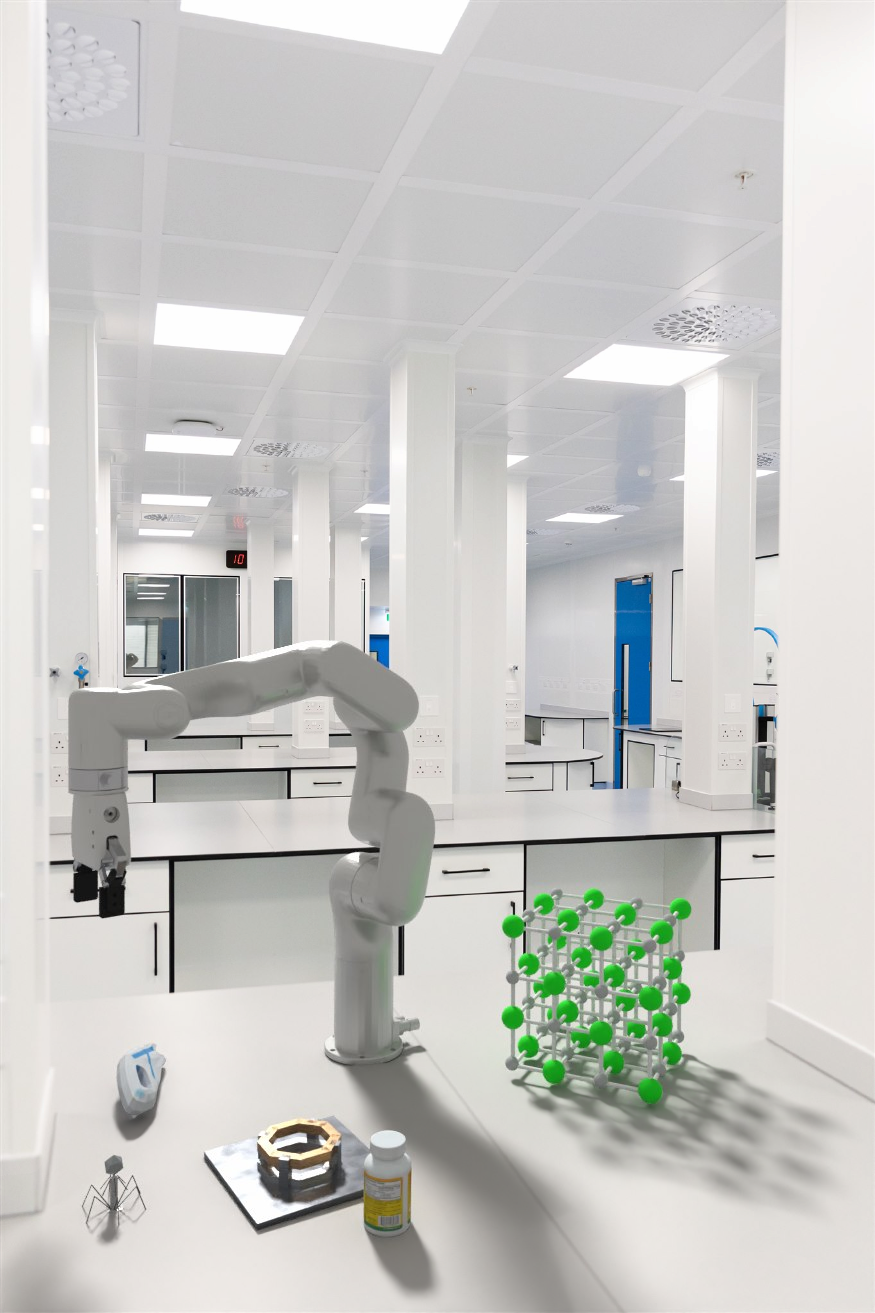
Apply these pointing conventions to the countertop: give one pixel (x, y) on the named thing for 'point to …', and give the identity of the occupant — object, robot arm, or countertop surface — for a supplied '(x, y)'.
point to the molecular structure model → (599, 988)
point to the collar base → (292, 1170)
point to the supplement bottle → (387, 1185)
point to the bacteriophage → (113, 1185)
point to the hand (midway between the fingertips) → (98, 908)
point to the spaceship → (139, 1078)
